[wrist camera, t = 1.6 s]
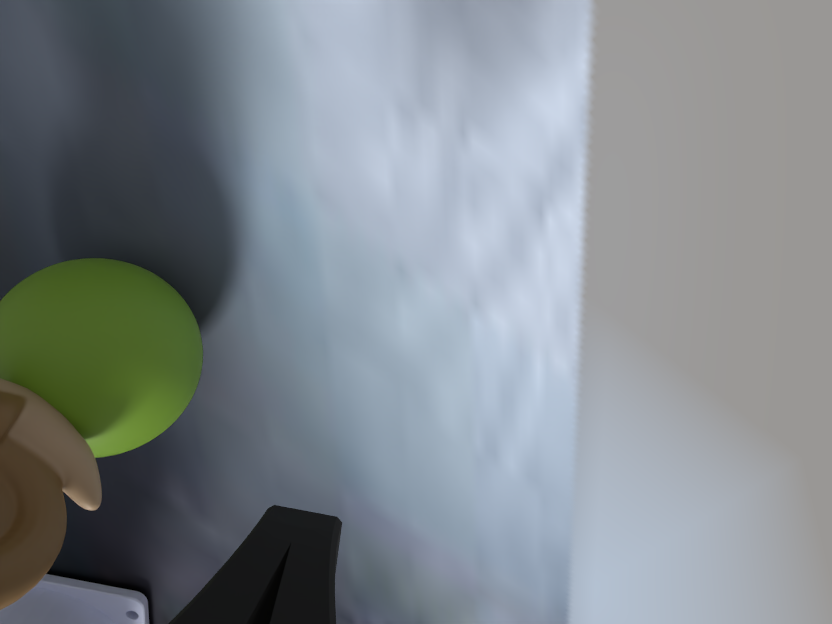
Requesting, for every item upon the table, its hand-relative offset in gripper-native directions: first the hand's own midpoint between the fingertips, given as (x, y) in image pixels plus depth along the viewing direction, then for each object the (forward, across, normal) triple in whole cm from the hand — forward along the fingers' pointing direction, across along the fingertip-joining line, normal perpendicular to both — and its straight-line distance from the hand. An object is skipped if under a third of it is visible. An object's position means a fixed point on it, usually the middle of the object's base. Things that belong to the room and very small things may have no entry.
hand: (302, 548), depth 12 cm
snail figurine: (+8, +8, 0) cm, 11 cm away
